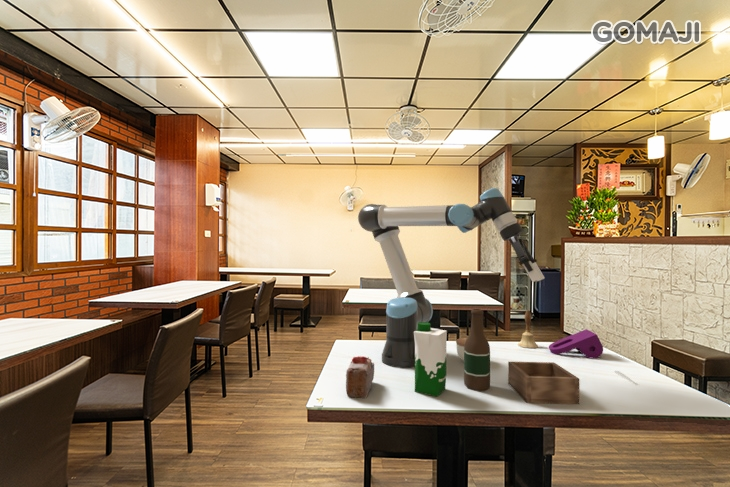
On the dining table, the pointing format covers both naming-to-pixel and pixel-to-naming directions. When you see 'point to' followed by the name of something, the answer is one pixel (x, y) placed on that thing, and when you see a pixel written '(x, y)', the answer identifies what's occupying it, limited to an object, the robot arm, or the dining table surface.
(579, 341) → the mounting bracket
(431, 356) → the milk carton
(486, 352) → the beer bottle
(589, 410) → the dining table surface
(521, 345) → the hand bell
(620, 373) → the butter knife
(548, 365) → the walnut box
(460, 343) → the lidded jar
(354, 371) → the food item
